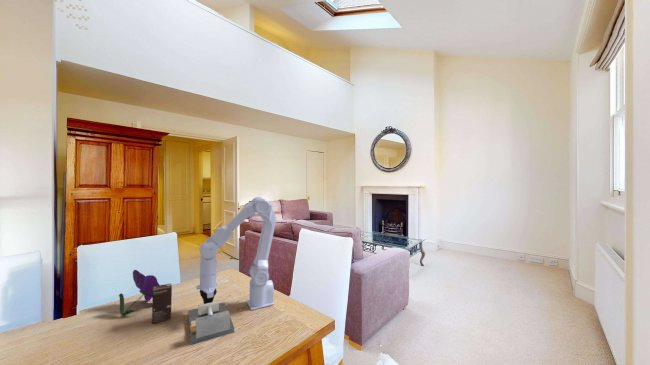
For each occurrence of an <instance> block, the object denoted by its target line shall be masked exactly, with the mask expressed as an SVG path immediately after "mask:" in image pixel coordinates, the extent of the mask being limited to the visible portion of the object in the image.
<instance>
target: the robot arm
mask: <svg viewBox="0 0 650 365" xmlns="http://www.w3.org/2000/svg"><path fill="white" fill-rule="evenodd" d="M257 214H258V216H260V218H261V220H262V226H261V231H260V236H259V240H258V246H257V250H256V255H255V258H254V260H253V262H252V265H251V266H250V267H249V270H248V273H249V276H250V277H251V278H250V280H249V299H247V300H246V303H247V305H248V307H249V310H251V311H254V310H257V309H262V308H265V307H270V306H274V305H275V301H274V299H275V298H274V297H275V296H274V293H275V290H274V289H275V288H274V283H273V280H272V279H270V274H269V257H270V251H271V247H272V242H273V237H274V232H275V228H276V223H277V216H276V213H275V211H274V208H273V205H272V204H271V202H270V201H269V200H267V199H265V198H263V197H260V196H256V197H254V198H252V200H251V201H249V202H247V203H246V204H245V206H244V207H243V208H242V209H241V210H239V212H238V213H237V214H235V216H234V217H233V218H232V219H231V220H230V222H228V223H227V225H222V226H220V227H216V229H215V232H214V233H213V234H212V235H211V236H210V237H207V238H206V239H205V240H206V241H204V242H202V243H201V245H200V247H199V254H200V257H199V259H200V260H199V261H200V262H199V284H198V285H196V286H195V287H196V290H199V294H200V297H201V298H202V301H203V304H206V303H211V302H214V298H215V296H216V295H217V292H218V291H217V286H218V284H217V259H216V258H217V255H218V250H219V249H221V248H222V247H223V246H224V245H225V244H226V243H227V242H228V241H229V240H230V239H231V238H232V237H233V233H234V232H233V231H235V230H236V229H237V228H238V227H239V226H241V224H242V223H243V222H244V221H246V220H247V219H248V218H250V217H255V216H257Z"/></svg>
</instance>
